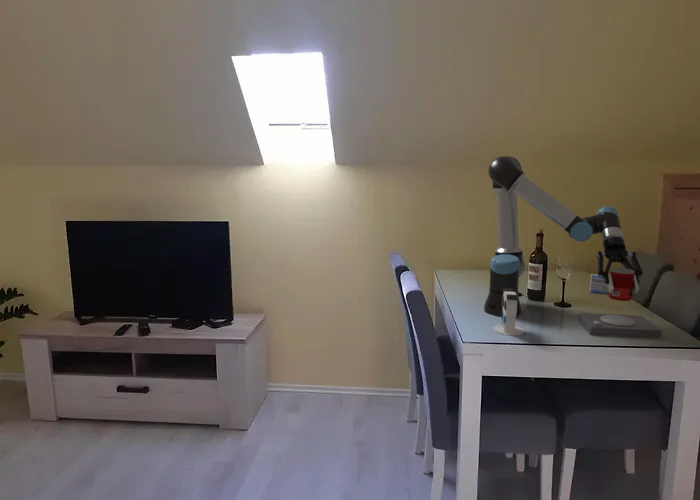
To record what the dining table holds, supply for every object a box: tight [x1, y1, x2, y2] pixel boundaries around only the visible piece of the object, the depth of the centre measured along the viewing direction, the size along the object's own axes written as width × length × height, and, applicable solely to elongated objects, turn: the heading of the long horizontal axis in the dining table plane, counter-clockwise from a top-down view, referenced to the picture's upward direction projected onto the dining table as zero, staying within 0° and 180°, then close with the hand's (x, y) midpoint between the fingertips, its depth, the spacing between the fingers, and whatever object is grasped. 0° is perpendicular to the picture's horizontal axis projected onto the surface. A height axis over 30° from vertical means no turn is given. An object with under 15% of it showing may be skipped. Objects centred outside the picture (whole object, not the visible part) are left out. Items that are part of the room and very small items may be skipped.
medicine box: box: [589, 273, 609, 295], centre depth 253 cm, size 8×4×9 cm, turn 68°
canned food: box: [608, 267, 635, 302], centre depth 197 cm, size 8×8×11 cm
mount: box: [577, 312, 662, 339], centre depth 200 cm, size 24×18×4 cm
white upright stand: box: [492, 288, 525, 336], centre depth 197 cm, size 12×11×15 cm
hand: (624, 291), depth 194 cm, fingers closed on canned food, 8 cm apart
